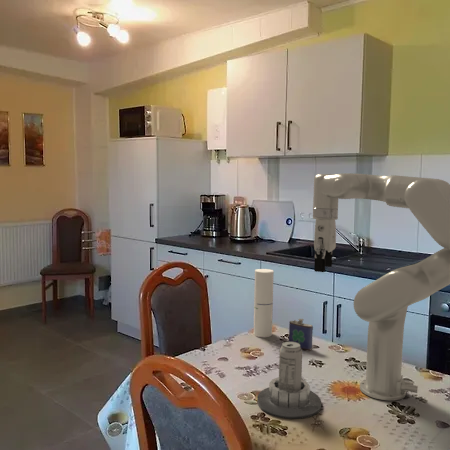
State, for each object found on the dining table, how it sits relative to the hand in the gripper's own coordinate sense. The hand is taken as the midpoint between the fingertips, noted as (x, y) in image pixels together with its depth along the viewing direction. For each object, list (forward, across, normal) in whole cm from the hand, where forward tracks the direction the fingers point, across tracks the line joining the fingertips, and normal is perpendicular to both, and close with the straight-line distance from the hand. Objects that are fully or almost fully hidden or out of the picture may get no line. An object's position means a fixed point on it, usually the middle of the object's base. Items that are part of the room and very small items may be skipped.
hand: (323, 268), depth 150 cm
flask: (+33, +16, +11) cm, 38 cm away
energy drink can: (+31, -27, +2) cm, 41 cm away
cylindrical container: (+32, +24, +28) cm, 49 cm away
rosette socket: (+32, -27, +2) cm, 42 cm away
